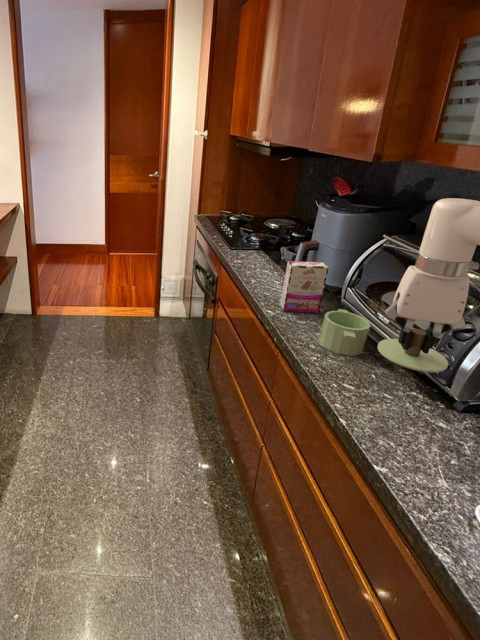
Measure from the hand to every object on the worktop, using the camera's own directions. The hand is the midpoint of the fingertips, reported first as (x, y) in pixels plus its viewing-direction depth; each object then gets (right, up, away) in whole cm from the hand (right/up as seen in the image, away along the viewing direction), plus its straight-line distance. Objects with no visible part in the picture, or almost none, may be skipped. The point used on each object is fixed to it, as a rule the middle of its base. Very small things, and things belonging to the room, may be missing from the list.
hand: (413, 347), depth 80 cm
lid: (0, -2, +1) cm, 2 cm away
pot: (+3, -5, +29) cm, 30 cm away
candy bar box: (+2, +3, +50) cm, 50 cm away
